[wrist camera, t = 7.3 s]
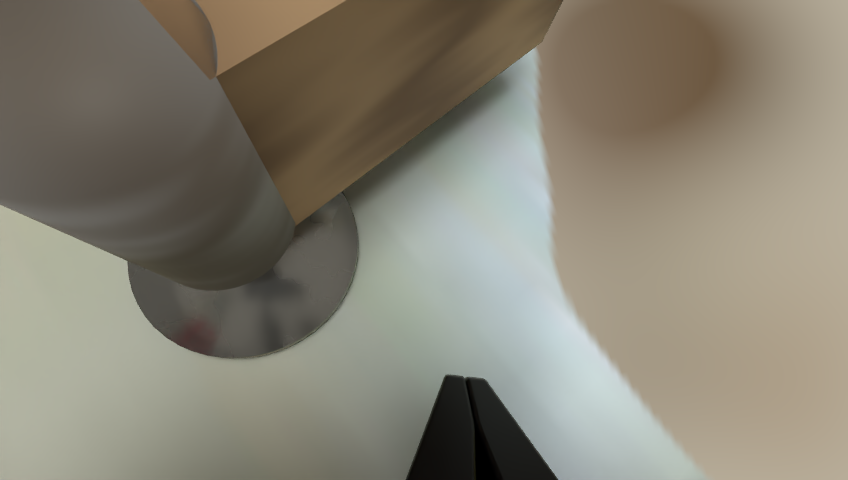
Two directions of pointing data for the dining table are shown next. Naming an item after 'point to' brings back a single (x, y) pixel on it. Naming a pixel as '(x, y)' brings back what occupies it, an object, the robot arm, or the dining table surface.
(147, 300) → the stool pivot and socket
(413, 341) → the dining table surface
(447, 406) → the robot arm
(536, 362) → the dining table surface
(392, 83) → the brown rectangular block
